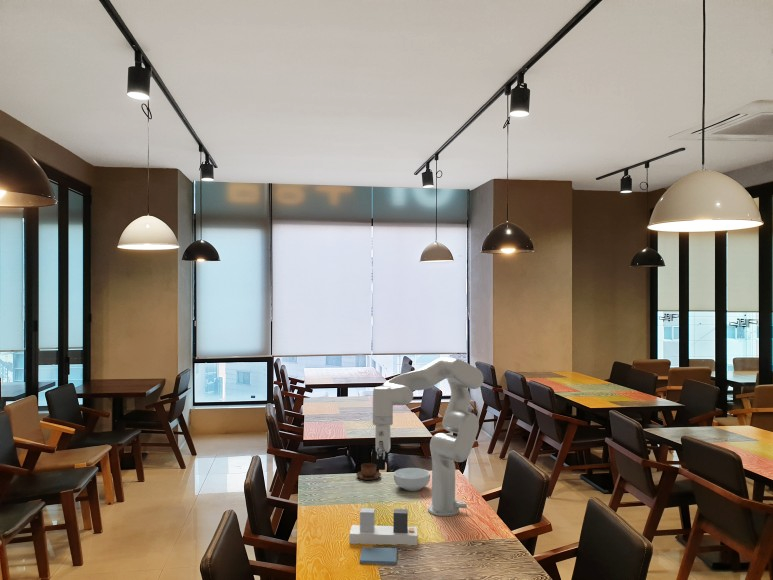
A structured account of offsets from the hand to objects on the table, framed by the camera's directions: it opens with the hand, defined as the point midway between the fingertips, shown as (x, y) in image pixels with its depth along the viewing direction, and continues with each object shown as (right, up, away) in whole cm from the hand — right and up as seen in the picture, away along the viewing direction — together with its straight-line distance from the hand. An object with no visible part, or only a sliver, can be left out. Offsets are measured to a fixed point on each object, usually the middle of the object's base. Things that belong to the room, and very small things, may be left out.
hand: (382, 465), depth 218 cm
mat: (-1, -24, -22) cm, 32 cm away
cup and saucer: (-7, -26, +65) cm, 70 cm away
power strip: (+1, -24, -8) cm, 26 cm away
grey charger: (-5, -22, -7) cm, 24 cm away
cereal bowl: (+13, -26, +50) cm, 57 cm away
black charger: (+7, -22, -8) cm, 25 cm away
